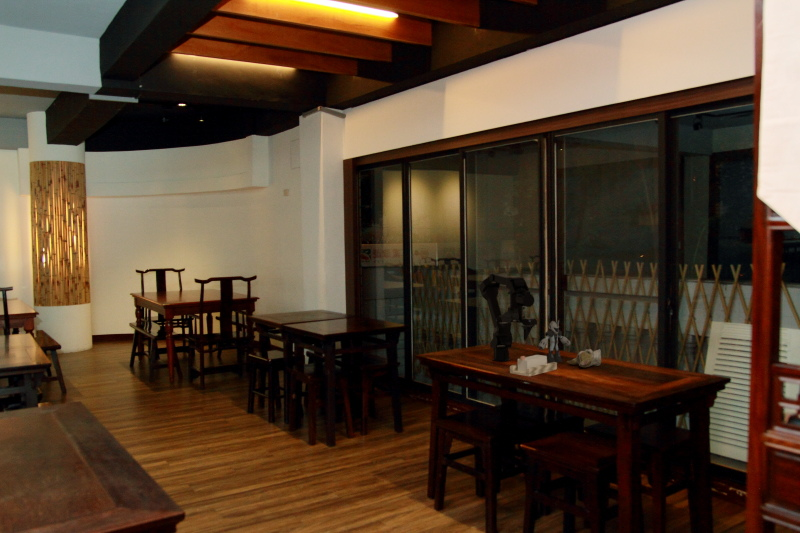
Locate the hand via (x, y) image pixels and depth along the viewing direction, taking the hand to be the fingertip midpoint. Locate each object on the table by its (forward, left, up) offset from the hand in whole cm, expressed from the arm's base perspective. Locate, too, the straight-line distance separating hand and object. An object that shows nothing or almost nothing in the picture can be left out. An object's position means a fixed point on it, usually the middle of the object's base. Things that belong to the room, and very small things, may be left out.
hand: (516, 339), depth 286 cm
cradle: (+12, -4, -12) cm, 17 cm away
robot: (+7, +19, -12) cm, 24 cm away
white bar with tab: (+12, -5, -11) cm, 17 cm away
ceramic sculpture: (+23, +20, -12) cm, 33 cm away
